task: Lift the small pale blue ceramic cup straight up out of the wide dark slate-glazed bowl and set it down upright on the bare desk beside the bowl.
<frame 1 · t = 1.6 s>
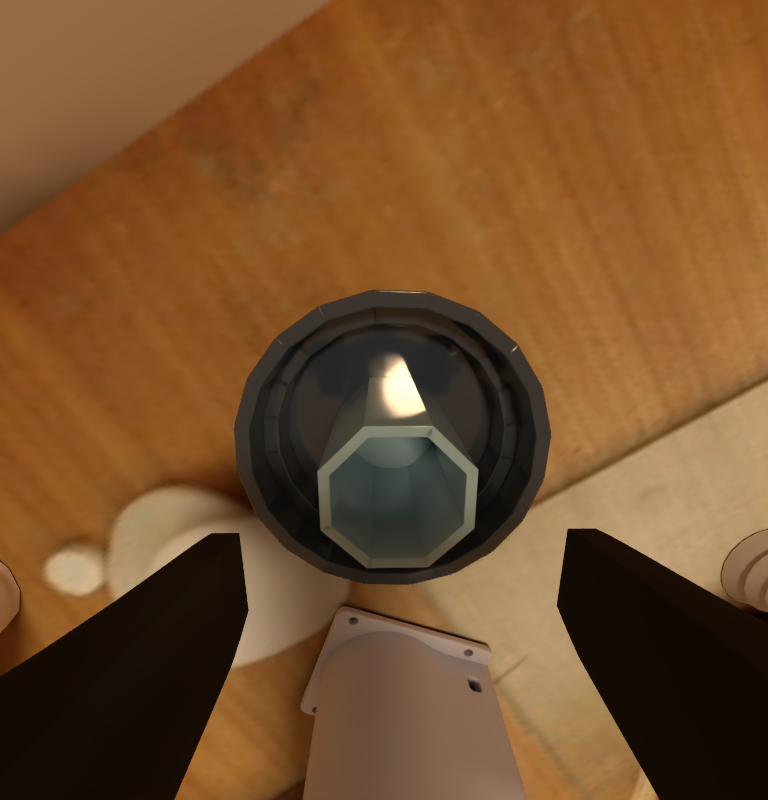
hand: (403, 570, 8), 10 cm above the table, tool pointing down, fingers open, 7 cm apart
bowl: (390, 421, 18), on the table
cup: (390, 425, 18), resting on bowl
chalice: (763, 564, 21), on the table
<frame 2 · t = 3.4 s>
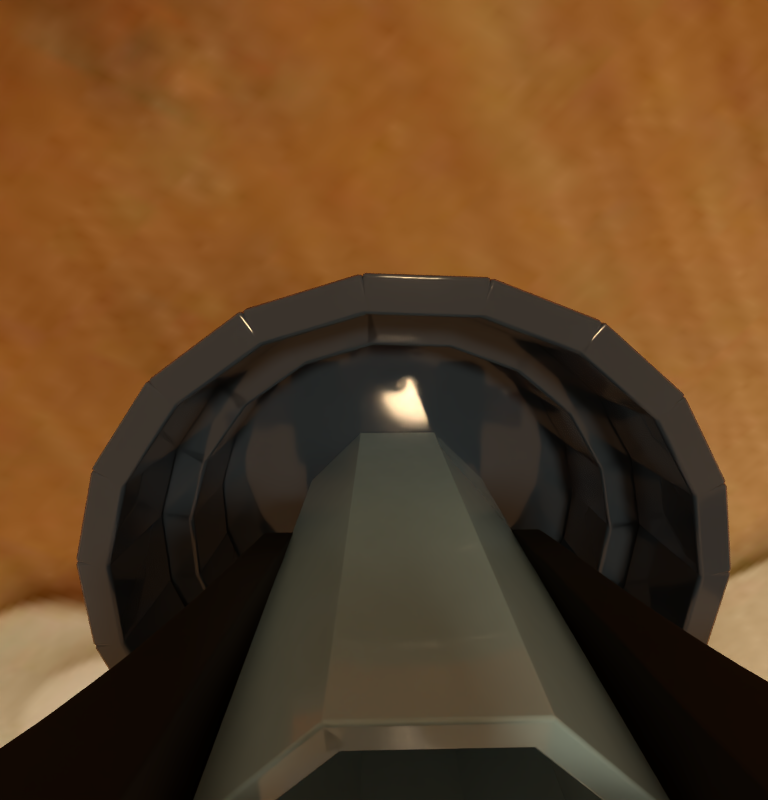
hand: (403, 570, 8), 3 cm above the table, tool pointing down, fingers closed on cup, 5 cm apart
bowl: (397, 501, 11), on the table
cup: (396, 510, 10), point 1 cm above the table, touching bowl, gripper
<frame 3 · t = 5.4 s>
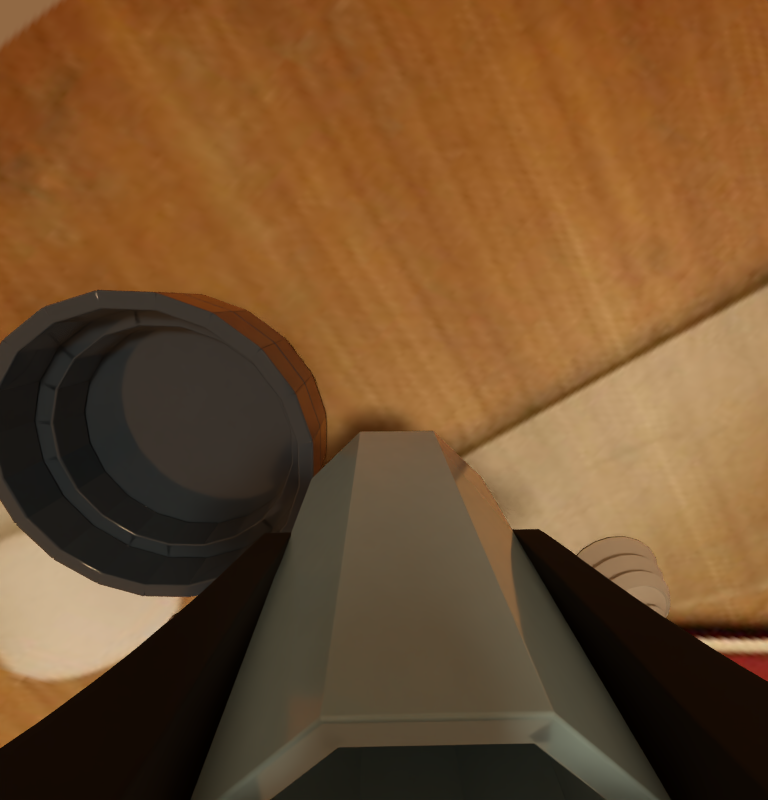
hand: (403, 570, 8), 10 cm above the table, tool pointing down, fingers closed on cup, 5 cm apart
bowl: (199, 426, 18), on the table
cup: (396, 509, 10), point 8 cm above the table, touching gripper
chalice: (609, 574, 20), on the table
when the fingers open (2 cm above the table, at t = 7.9 s): cup stays where it is, on the table.
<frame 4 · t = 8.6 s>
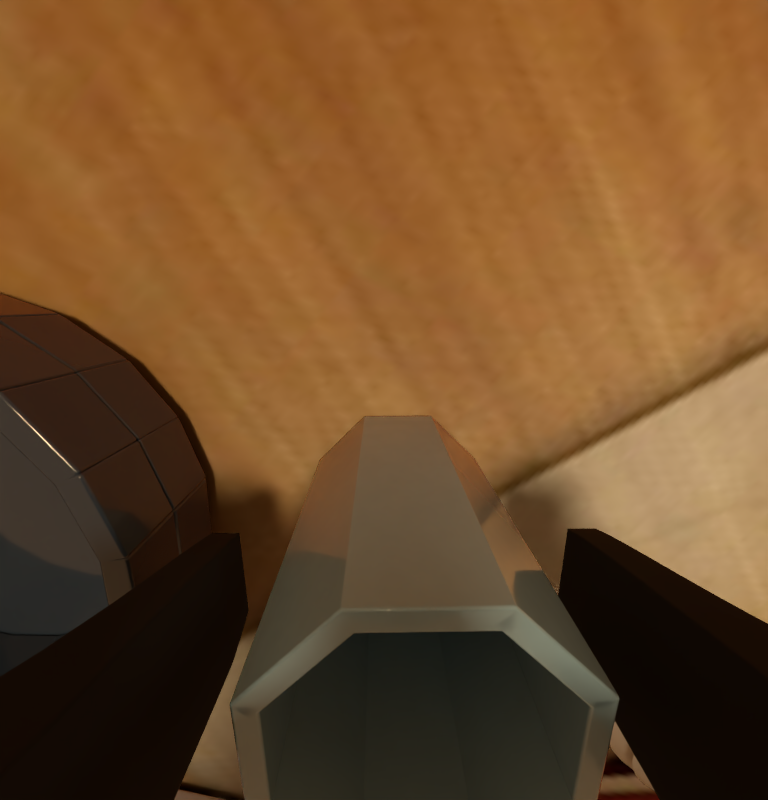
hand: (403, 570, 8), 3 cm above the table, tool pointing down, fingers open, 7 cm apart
bowl: (17, 493, 11), on the table
cup: (397, 487, 11), on the table
chalice: (646, 693, 14), on the table
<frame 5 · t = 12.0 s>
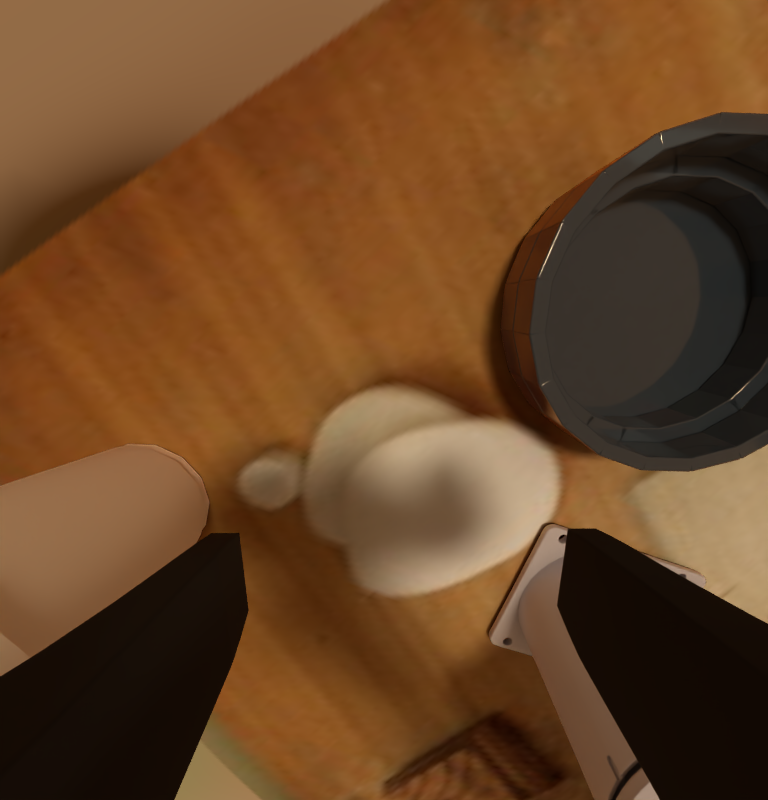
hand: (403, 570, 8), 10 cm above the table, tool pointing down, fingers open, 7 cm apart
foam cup: (151, 498, 19), on the table
bowl: (630, 311, 17), on the table
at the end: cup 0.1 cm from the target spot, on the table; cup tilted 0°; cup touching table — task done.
